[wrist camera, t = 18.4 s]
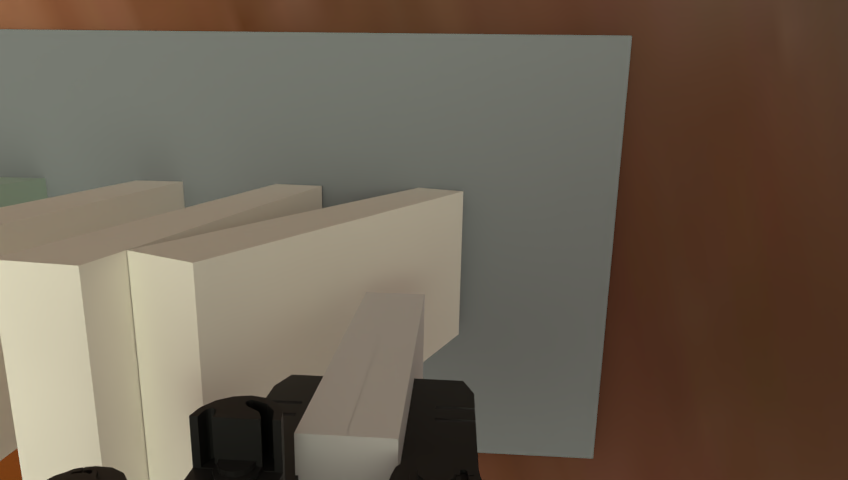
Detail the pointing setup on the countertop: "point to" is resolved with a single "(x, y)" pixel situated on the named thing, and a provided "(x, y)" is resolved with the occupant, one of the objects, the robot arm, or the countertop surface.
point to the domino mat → (374, 169)
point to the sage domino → (21, 190)
